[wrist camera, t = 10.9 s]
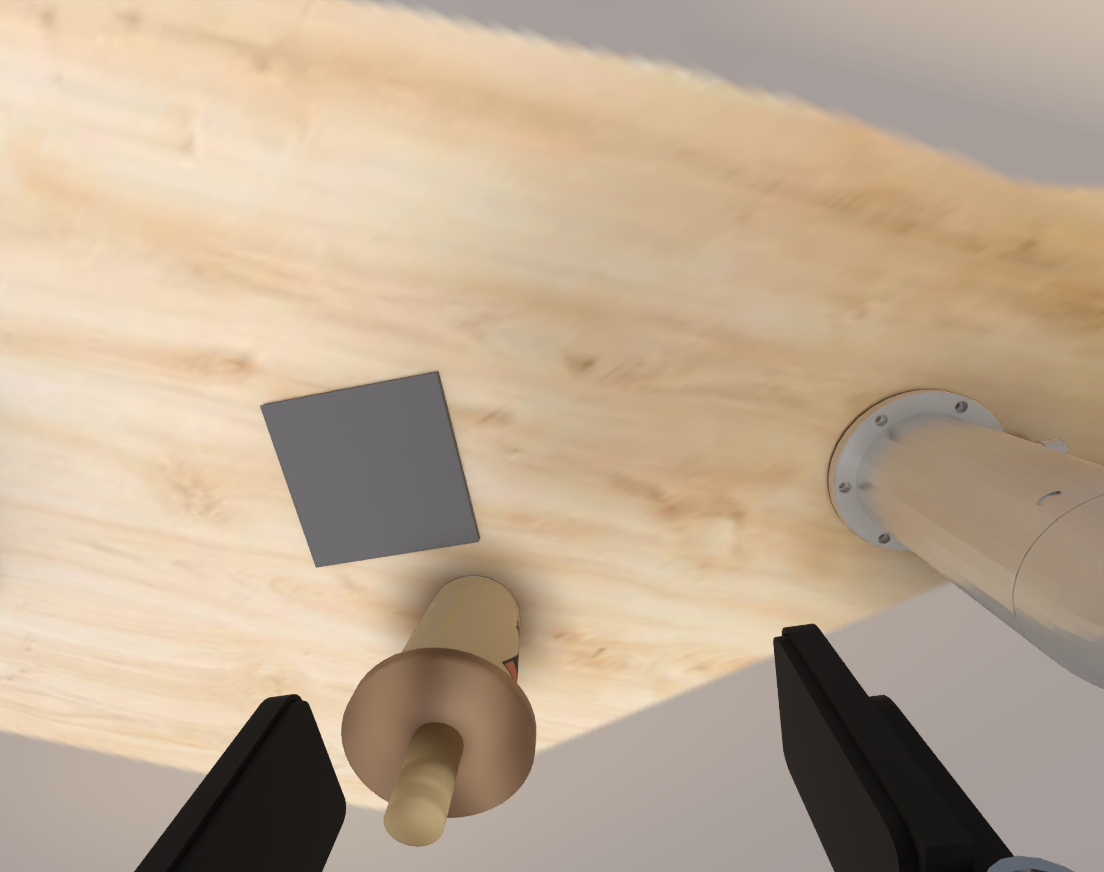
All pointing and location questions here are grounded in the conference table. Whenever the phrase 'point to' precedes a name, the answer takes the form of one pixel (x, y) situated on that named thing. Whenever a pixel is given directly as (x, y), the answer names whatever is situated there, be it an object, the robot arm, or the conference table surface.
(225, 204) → the conference table surface
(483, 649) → the coffee cup
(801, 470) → the conference table surface
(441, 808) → the lid
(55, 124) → the conference table surface
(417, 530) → the mat
